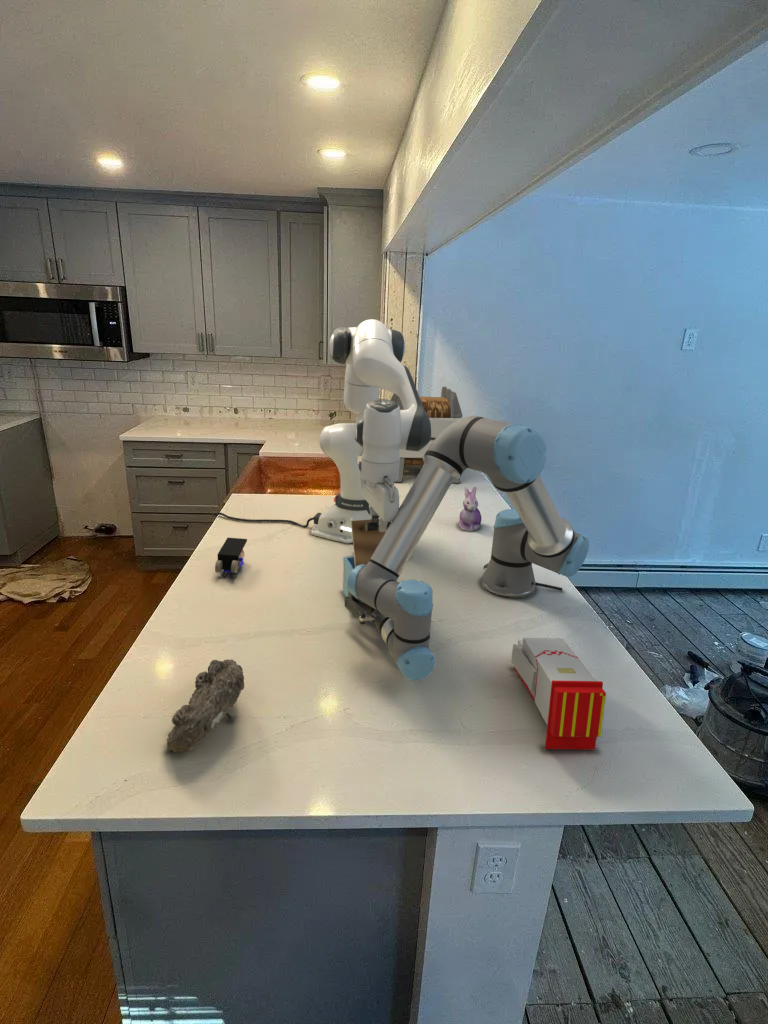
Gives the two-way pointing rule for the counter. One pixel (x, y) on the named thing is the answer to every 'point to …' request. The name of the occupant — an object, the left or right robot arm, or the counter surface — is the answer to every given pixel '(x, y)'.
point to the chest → (347, 571)
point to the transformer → (440, 416)
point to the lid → (365, 540)
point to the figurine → (470, 512)
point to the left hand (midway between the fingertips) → (378, 526)
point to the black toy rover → (230, 556)
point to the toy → (561, 692)
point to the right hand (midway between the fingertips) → (369, 584)
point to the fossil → (206, 705)
